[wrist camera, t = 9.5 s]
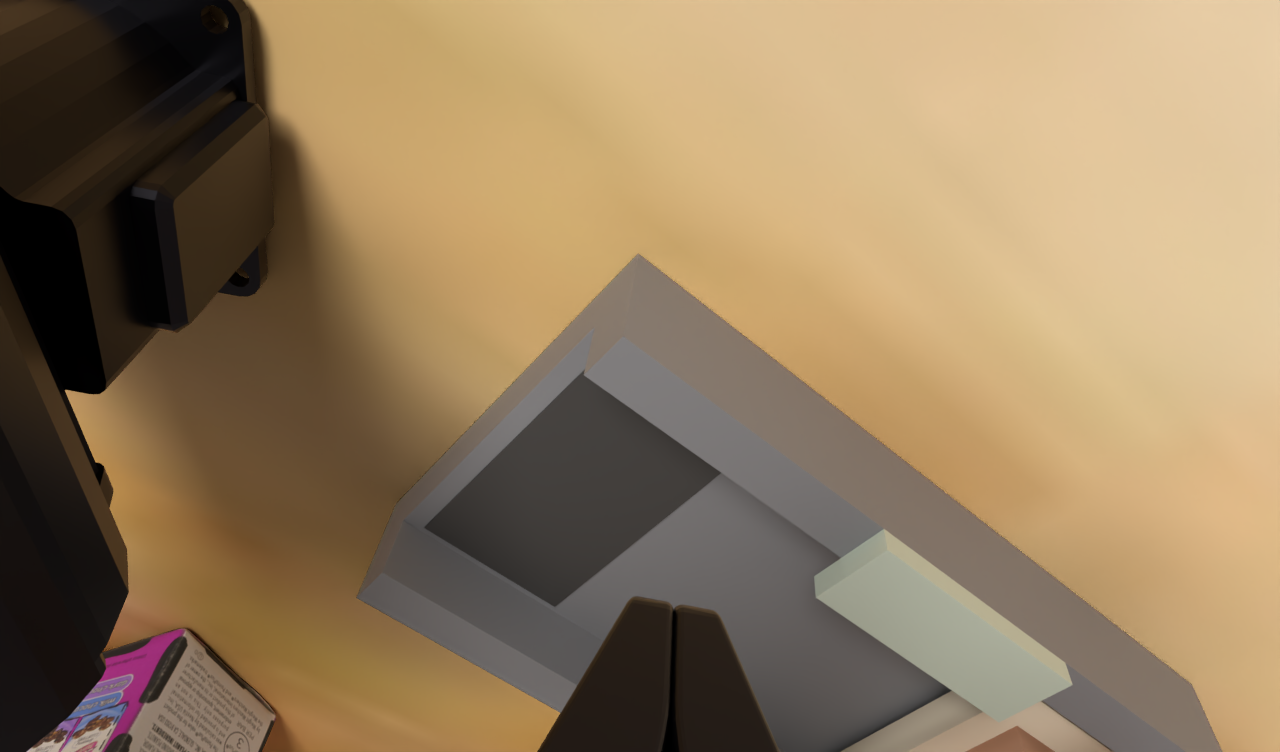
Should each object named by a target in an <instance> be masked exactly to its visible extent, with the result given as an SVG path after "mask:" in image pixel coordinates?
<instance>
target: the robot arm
mask: <svg viewBox="0 0 1280 752" xmlns="http://www.w3.org/2000/svg"><path fill="white" fill-rule="evenodd" d="M211 5H214V6H216V7H218V8H220V9H221V10H222V11H223V12H224V13H225V14H226V16H227V19H228V22H229V24H228V28H225V27H222V26H220V25H218V24H217V23H216V22H215V20H214V19H213V18H212V15H211V12H210V9H211ZM273 227H274V206H273V190H272V173H271V157H270V140H269V124H268V117H267V116H266V114H265V113H264V111H263V110H262V108H261V107H260V106H259V104H257V103H256V89H255V74H254V60H253V45H252V30H251V18H250V14H249V10H248V7H247V6H246V4H245V3H244V1H243V0H0V752H27V751H28V750H29V749H30V748H32V747H33V746H34V745H35V744H36V743H38V742H39V741H40V740H41V739H43V738H44V737H45V736H46V735H47V734H49V733H50V732H51V731H52V730H53V729H55V728H56V727H57V726H58V725H59V724H61V723H62V722H63V721H64V720H65V719H67V718H68V717H69V716H70V715H71V714H72V712H73V711H74V710H75V709H76V708H77V707H78V705H79V704H80V703H81V702H82V701H83V700H84V698H85V697H86V696H87V695H88V694H89V692H90V691H91V690H92V689H93V688H94V687H95V685H96V684H97V683H98V682H99V681H100V680H101V678H102V677H103V675H104V672H105V670H106V661H105V658H104V656H103V654H102V651H103V650H104V648H105V647H106V645H107V643H108V641H109V638H110V636H111V634H112V631H113V629H114V626H115V624H116V622H117V619H118V617H119V614H120V612H121V609H122V607H123V605H124V602H125V600H126V597H127V595H128V592H129V591H128V562H127V548H126V546H125V543H124V541H123V539H122V536H121V534H120V532H119V530H118V527H117V525H116V523H115V520H114V518H113V516H112V513H111V511H110V509H109V508H110V504H111V500H112V496H113V487H112V485H111V482H110V480H109V477H108V475H107V473H106V470H105V468H104V466H103V465H102V464H100V463H96V462H95V461H94V458H93V456H92V453H91V451H90V449H89V446H88V444H87V442H86V439H85V437H84V435H83V432H82V430H81V428H80V425H79V423H78V421H77V418H76V416H75V414H74V411H73V409H72V407H71V404H70V402H69V400H68V397H67V395H66V393H65V390H71V391H77V392H82V393H87V394H100V393H102V392H103V391H104V390H106V389H107V387H108V386H109V385H110V384H111V383H112V382H113V381H114V380H115V379H116V377H117V376H118V375H119V374H120V373H121V372H122V371H123V370H124V369H125V367H126V366H127V365H128V364H129V363H130V362H131V361H132V360H133V359H134V358H135V356H136V355H137V354H138V353H139V352H140V351H141V350H142V349H143V348H144V346H145V345H146V344H147V343H148V342H149V341H150V340H151V339H152V338H153V336H154V335H155V334H156V333H157V332H158V331H159V330H165V331H170V332H175V333H177V332H179V331H180V330H182V329H183V328H185V327H186V326H187V325H189V324H190V323H192V321H193V320H194V319H195V318H196V317H197V316H198V314H199V313H200V312H201V311H202V310H203V309H204V307H205V306H206V305H207V304H208V303H209V302H210V300H211V299H212V298H213V297H214V296H215V295H216V294H217V292H220V293H225V294H230V295H236V296H250V295H252V294H255V293H256V292H257V290H258V289H259V288H260V287H261V285H262V284H263V283H264V282H265V280H266V279H267V274H268V267H267V252H266V238H265V237H266V235H267V234H268V233H269V232H270V231H271V230H272V229H273ZM238 268H242V269H243V270H244V271H245V272H246V273H247V274H248V276H249V278H245V277H243V276H241V275H239V274H238V273H237V272H236V270H237V269H238ZM538 752H780V751H779V749H778V746H777V744H776V742H775V739H774V737H773V735H772V733H771V730H770V728H769V726H768V723H767V721H766V719H765V717H764V714H763V712H762V710H761V707H760V705H759V703H758V701H757V698H756V696H755V694H754V691H753V689H752V687H751V685H750V682H749V680H748V678H747V675H746V673H745V671H744V669H743V666H742V664H741V662H740V659H739V657H738V655H737V653H736V650H735V648H734V646H733V643H732V641H731V639H730V637H729V634H728V632H727V630H726V627H725V625H724V623H723V621H722V619H721V617H720V615H719V614H718V613H717V612H715V611H714V610H711V609H705V608H700V607H694V606H689V605H684V604H682V605H678V606H676V607H675V608H674V610H673V607H672V605H671V604H670V603H669V602H667V601H662V600H656V599H651V598H645V597H640V596H634V597H632V598H631V599H629V601H628V602H627V603H626V605H625V607H624V608H623V610H622V612H621V613H620V615H619V617H618V618H617V620H616V622H615V623H614V625H613V627H612V628H611V630H610V632H609V633H608V635H607V637H606V638H605V640H604V642H603V643H602V645H601V647H600V648H599V650H598V652H597V653H596V655H595V657H594V658H593V660H592V662H591V663H590V665H589V667H588V668H587V670H586V672H585V673H584V675H583V677H582V678H581V680H580V682H579V683H578V685H577V687H576V688H575V690H574V692H573V693H572V695H571V697H570V698H569V700H568V702H567V703H566V705H565V707H564V708H563V710H562V712H561V713H560V715H559V717H558V718H557V720H556V722H555V723H554V725H553V727H552V728H551V730H550V732H549V733H548V735H547V737H546V738H545V740H544V742H543V743H542V745H541V747H540V748H539V750H538Z"/></svg>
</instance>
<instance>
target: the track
mask: <svg viewBox="0 0 1280 752" xmlns="http://www.w3.org/2000/svg"><path fill="white" fill-rule="evenodd" d="M634 596H640V597H645V598H651V599H656V600H662V601H667V602H669V603H670V604H671V605H672V607H673V610H674V608H675V607H676V606H678V605H682V604H684V605H689V606H694V607H700V608H705V609H711V610H714V611H715V612H717V613H718V614H719V615H720V617H721V619H722V621H723V623H724V625H725V627H726V630H727V632H728V634H729V637H730V639H731V641H732V643H733V646H734V648H735V650H736V653H737V655H738V657H739V659H740V662H741V664H742V666H743V669H744V671H745V673H746V675H747V678H748V680H749V682H750V685H751V687H752V689H753V691H754V694H755V696H756V698H757V701H758V703H759V705H760V707H761V710H762V712H763V714H764V717H765V719H766V721H767V723H768V726H769V728H770V730H771V733H772V735H773V737H774V739H775V742H776V744H777V746H778V749H779V751H780V752H841V751H842V750H844V749H846V748H848V747H850V746H852V745H853V744H855V743H857V742H859V741H861V740H862V739H864V738H866V737H868V736H870V735H872V734H873V733H875V732H877V731H879V730H881V729H883V728H884V727H886V726H888V725H890V724H892V723H894V722H895V721H897V720H899V719H901V718H903V717H905V716H906V715H908V714H910V713H912V712H914V711H916V710H917V709H919V708H921V707H923V706H925V705H927V704H928V703H930V702H932V701H934V700H936V699H938V698H939V697H941V696H943V695H945V694H947V693H948V692H950V691H953V692H955V693H956V694H958V695H959V696H961V697H962V698H964V699H965V700H967V701H968V702H970V703H971V704H972V705H974V706H975V707H977V708H978V709H980V710H981V711H983V712H984V713H986V714H987V715H989V716H990V717H991V718H993V719H994V720H996V721H997V722H1001V721H1003V720H1005V719H1007V718H1009V717H1011V716H1013V715H1015V714H1017V713H1019V712H1021V711H1023V710H1024V709H1026V708H1028V707H1030V706H1032V705H1034V704H1036V703H1038V702H1040V701H1043V702H1045V703H1046V704H1048V705H1049V706H1051V707H1052V708H1053V709H1055V710H1056V711H1058V712H1059V713H1060V714H1062V715H1063V716H1065V717H1066V718H1067V719H1069V720H1070V721H1072V722H1073V723H1074V724H1076V725H1077V726H1079V727H1080V728H1082V729H1083V730H1084V731H1086V732H1087V733H1089V734H1090V735H1091V736H1093V737H1094V738H1096V739H1097V740H1098V741H1100V742H1101V743H1103V744H1104V745H1105V746H1107V747H1108V748H1110V749H1111V750H1113V751H1114V752H1222V750H1221V748H1220V746H1219V743H1218V741H1217V739H1216V737H1215V734H1214V732H1213V730H1212V728H1211V726H1210V723H1209V721H1208V719H1207V717H1206V715H1205V712H1204V710H1203V708H1202V706H1201V703H1200V701H1199V699H1198V697H1197V695H1196V692H1195V690H1194V688H1193V686H1192V684H1190V683H1189V682H1188V681H1186V680H1185V679H1184V678H1183V677H1181V676H1180V675H1179V674H1177V673H1176V672H1175V671H1174V670H1172V669H1171V668H1170V667H1168V666H1167V665H1166V664H1165V663H1163V662H1162V661H1161V660H1159V659H1158V658H1157V657H1156V656H1154V655H1153V654H1152V653H1151V652H1149V651H1148V650H1147V649H1145V648H1144V647H1143V646H1142V645H1140V644H1139V643H1138V642H1136V641H1135V640H1134V639H1133V638H1131V637H1130V636H1129V635H1127V634H1126V633H1125V632H1124V631H1122V630H1121V629H1120V628H1118V627H1117V626H1116V625H1115V624H1113V623H1112V622H1111V621H1109V620H1108V619H1107V618H1106V617H1104V616H1103V615H1102V614H1100V613H1099V612H1098V611H1097V610H1095V609H1094V608H1093V607H1091V606H1090V605H1089V604H1088V603H1086V602H1085V601H1084V600H1082V599H1081V598H1080V597H1079V596H1077V595H1076V594H1075V593H1073V592H1072V591H1071V590H1070V589H1068V588H1067V587H1066V586H1064V585H1063V584H1062V583H1061V582H1059V581H1058V580H1057V579H1055V578H1054V577H1053V576H1052V575H1050V574H1049V573H1048V572H1047V571H1045V570H1044V569H1043V568H1041V567H1040V566H1039V565H1038V564H1036V563H1035V562H1034V561H1032V560H1031V559H1030V558H1029V557H1027V556H1026V555H1025V554H1023V553H1022V552H1021V551H1020V550H1018V549H1017V548H1016V547H1014V546H1013V545H1012V544H1011V543H1009V542H1008V541H1007V540H1005V539H1004V538H1003V537H1002V536H1000V535H999V534H998V533H996V532H995V531H994V530H993V529H991V528H990V527H989V526H987V525H986V524H985V523H984V522H982V521H981V520H980V519H978V518H977V517H976V516H975V515H973V514H972V513H971V512H969V511H968V510H967V509H966V508H964V507H963V506H962V505H960V504H959V503H958V502H957V501H955V500H954V499H953V498H951V497H950V496H949V495H948V494H946V493H945V492H944V491H942V490H941V489H940V488H939V487H937V486H936V485H935V484H934V483H932V482H931V481H930V480H928V479H927V478H926V477H925V476H923V475H922V474H921V473H919V472H918V471H917V470H916V469H914V468H913V467H912V466H910V465H909V464H908V463H907V462H905V461H904V460H903V459H901V458H900V457H899V456H898V455H896V454H895V453H894V452H892V451H891V450H890V449H889V448H887V447H886V446H885V445H883V444H882V443H881V442H880V441H878V440H877V439H876V438H874V437H873V436H872V435H871V434H869V433H868V432H867V431H865V430H864V429H863V428H862V427H860V426H859V425H858V424H856V423H855V422H854V421H853V420H851V419H850V418H849V417H847V416H846V415H845V414H844V413H842V412H841V411H840V410H838V409H837V408H836V407H835V406H833V405H832V404H831V403H830V402H828V401H827V400H826V399H824V398H823V397H822V396H821V395H819V394H818V393H817V392H815V391H814V390H813V389H812V388H810V387H809V386H808V385H806V384H805V383H804V382H803V381H801V380H800V379H799V378H797V377H796V376H795V375H794V374H792V373H791V372H790V371H788V370H787V369H786V368H785V367H783V366H782V365H781V364H779V363H778V362H777V361H776V360H774V359H773V358H772V357H770V356H769V355H768V354H767V353H765V352H764V351H763V350H761V349H760V348H759V347H758V346H756V345H755V344H754V343H752V342H751V341H750V340H749V339H747V338H746V337H745V336H743V335H742V334H741V333H740V332H738V331H737V330H736V329H734V328H733V327H732V326H731V325H729V324H728V323H727V322H726V321H724V320H723V319H722V318H720V317H719V316H718V315H717V314H715V313H714V312H713V311H711V310H710V309H709V308H708V307H706V306H705V305H704V304H702V303H701V302H700V301H699V300H697V299H696V298H695V297H693V296H692V295H691V294H690V293H688V292H687V291H686V290H684V289H683V288H682V287H681V286H679V285H678V284H677V283H675V282H674V281H673V280H672V279H670V278H669V277H668V276H666V275H665V274H664V273H663V272H661V271H660V270H659V269H657V268H656V267H655V266H654V265H652V264H651V263H650V262H648V261H647V260H646V259H645V258H643V257H642V256H641V255H639V254H637V255H636V256H635V257H634V258H633V259H632V260H631V261H630V263H629V264H628V265H627V266H626V267H625V268H624V269H623V270H622V271H621V272H620V273H619V274H618V275H617V276H616V277H615V278H614V279H613V280H612V281H611V282H610V283H609V284H608V285H607V286H606V287H605V288H604V289H603V290H602V291H601V293H600V294H599V295H598V296H597V297H596V298H595V299H594V300H593V301H592V302H591V303H590V304H589V305H588V306H587V307H586V308H585V309H584V310H583V311H582V312H581V313H580V314H579V315H578V316H577V317H576V318H575V319H574V320H573V321H572V322H571V324H570V325H569V326H568V327H567V328H566V329H565V330H564V331H563V332H562V333H561V334H560V335H559V336H558V337H557V338H556V339H555V340H554V341H553V342H552V343H551V344H550V345H549V346H548V347H547V348H546V349H545V350H544V351H543V352H542V354H541V355H540V356H539V357H538V358H537V359H536V360H535V361H534V362H533V363H532V364H531V365H530V366H529V367H528V368H527V369H526V370H525V371H524V372H523V373H522V374H521V375H520V376H519V377H518V378H517V379H516V380H515V381H514V382H513V383H512V385H511V386H510V387H509V388H508V389H507V390H506V391H505V392H504V393H503V394H502V395H501V396H500V397H499V398H498V399H497V400H496V401H495V402H494V403H493V404H492V405H491V406H490V407H489V408H488V409H487V410H486V411H485V412H484V413H483V414H482V416H481V417H480V418H479V419H478V420H477V421H476V422H475V423H474V424H473V425H472V426H471V427H470V428H469V429H468V430H467V431H466V432H465V433H464V434H463V435H462V436H461V437H460V438H459V439H458V440H457V441H456V442H455V443H454V444H453V446H452V447H451V448H450V449H449V450H448V451H447V452H446V453H445V454H444V455H443V456H442V457H441V458H440V459H439V460H438V461H437V462H436V463H435V464H434V465H433V466H432V467H431V468H430V469H429V470H428V471H427V472H426V473H425V474H424V475H423V477H422V478H421V479H420V480H419V481H418V482H417V483H416V484H415V485H414V486H413V487H412V488H411V489H410V490H409V491H408V492H407V493H406V494H405V495H404V496H403V497H402V498H401V499H400V500H399V501H398V502H397V503H396V505H395V507H394V509H393V512H392V514H391V517H390V519H389V521H388V524H387V526H386V528H385V531H384V533H383V536H382V538H381V540H380V543H379V545H378V547H377V550H376V552H375V555H374V557H373V559H372V562H371V564H370V566H369V569H368V571H367V574H366V576H365V578H364V581H363V583H362V585H361V588H360V590H359V593H358V595H357V597H356V598H358V599H359V600H361V601H363V602H365V603H367V604H368V605H370V606H372V607H374V608H375V609H377V610H379V611H381V612H383V613H384V614H386V615H388V616H390V617H391V618H393V619H395V620H397V621H399V622H400V623H402V624H404V625H406V626H407V627H409V628H411V629H413V630H415V631H416V632H418V633H420V634H422V635H423V636H425V637H427V638H429V639H431V640H432V641H434V642H436V643H438V644H439V645H441V646H443V647H445V648H447V649H448V650H450V651H452V652H454V653H455V654H457V655H459V656H461V657H463V658H464V659H466V660H468V661H470V662H471V663H473V664H475V665H477V666H479V667H480V668H482V669H484V670H486V671H487V672H489V673H491V674H493V675H495V676H496V677H498V678H500V679H502V680H503V681H505V682H507V683H509V684H511V685H512V686H514V687H516V688H518V689H519V690H521V691H523V692H525V693H527V694H528V695H530V696H532V697H534V698H535V699H537V700H539V701H541V702H542V703H544V704H546V705H548V706H550V707H551V708H553V709H555V710H557V711H558V712H560V713H561V712H562V710H563V708H564V707H565V705H566V703H567V702H568V700H569V698H570V697H571V695H572V693H573V692H574V690H575V688H576V687H577V685H578V683H579V682H580V680H581V678H582V677H583V675H584V673H585V672H586V670H587V668H588V667H589V665H590V663H591V662H592V660H593V658H594V657H595V655H596V653H597V652H598V650H599V648H600V647H601V645H602V643H603V642H604V640H605V638H606V637H607V635H608V633H609V632H610V630H611V628H612V627H613V625H614V623H615V622H616V620H617V618H618V617H619V615H620V613H621V612H622V610H623V608H624V607H625V605H626V603H627V602H628V601H629V599H631V598H632V597H634Z"/></svg>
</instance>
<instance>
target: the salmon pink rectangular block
mask: <svg viewBox="0 0 1280 752" xmlns="http://www.w3.org/2000/svg"><path fill="white" fill-rule="evenodd" d="M841 752H1114V751H1113V750H1111V749H1110V748H1108V747H1107V746H1105V745H1104V744H1103V743H1101V742H1100V741H1098V740H1097V739H1096V738H1094V737H1093V736H1091V735H1090V734H1089V733H1087V732H1086V731H1084V730H1083V729H1082V728H1080V727H1079V726H1077V725H1076V724H1074V723H1073V722H1072V721H1070V720H1069V719H1067V718H1066V717H1065V716H1063V715H1062V714H1060V713H1059V712H1058V711H1056V710H1055V709H1053V708H1052V707H1051V706H1049V705H1048V704H1046V703H1045V702H1043V701H1040V702H1038V703H1036V704H1034V705H1032V706H1030V707H1028V708H1026V709H1024V710H1023V711H1021V712H1019V713H1017V714H1015V715H1013V716H1011V717H1009V718H1007V719H1005V720H1003V721H1001V722H997V721H996V720H994V719H993V718H991V717H990V716H989V715H987V714H986V713H984V712H983V711H981V710H980V709H978V708H977V707H975V706H974V705H972V704H971V703H970V702H968V701H967V700H965V699H964V698H962V697H961V696H959V695H958V694H956V693H955V692H953V691H950V692H948V693H947V694H945V695H943V696H941V697H939V698H938V699H936V700H934V701H932V702H930V703H928V704H927V705H925V706H923V707H921V708H919V709H917V710H916V711H914V712H912V713H910V714H908V715H906V716H905V717H903V718H901V719H899V720H897V721H895V722H894V723H892V724H890V725H888V726H886V727H884V728H883V729H881V730H879V731H877V732H875V733H873V734H872V735H870V736H868V737H866V738H864V739H862V740H861V741H859V742H857V743H855V744H853V745H852V746H850V747H848V748H846V749H844V750H842V751H841Z"/></svg>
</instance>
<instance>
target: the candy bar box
mask: <svg viewBox="0 0 1280 752" xmlns="http://www.w3.org/2000/svg"><path fill="white" fill-rule="evenodd" d="M102 654H103V656H104V658H105V661H106V670H105V672H104V675H103V677H102V678H101V680H100V681H99V682H98V683H97V684H96V685H95V687H94V688H93V689H92V690H91V691H90V692H89V694H88V695H87V696H86V697H85V698H84V700H83V701H82V702H81V703H80V704H79V705H78V707H77V708H76V709H75V710H74V711H73V712H72V714H71V715H70V716H69V717H68V718H67V719H65V720H64V721H63V722H62V723H61V724H59V725H58V726H57V727H56V728H55V729H53V730H52V731H51V732H50V733H49V734H47V735H46V736H45V737H44V738H43V739H41V740H40V741H39V742H38V743H36V744H35V745H34V746H33V747H32V748H30V749H29V750H28V751H27V752H262V750H263V748H264V745H265V743H266V741H267V739H268V736H269V734H270V731H271V729H272V727H273V725H274V722H275V720H276V713H275V712H274V711H273V710H272V708H271V707H270V706H269V705H268V704H267V702H266V701H265V700H264V699H263V698H262V697H261V696H260V695H259V694H258V693H257V692H256V691H255V690H254V689H253V688H252V687H250V686H249V685H248V684H247V683H245V682H244V681H243V680H242V679H241V678H240V677H238V676H237V675H236V674H235V673H234V672H233V671H232V670H231V669H230V668H228V667H227V666H226V665H225V664H224V663H223V662H222V661H221V660H220V659H219V658H218V657H217V656H216V655H215V654H214V653H213V652H212V651H211V650H210V649H209V648H208V647H207V646H206V645H204V644H203V643H202V642H201V641H200V640H199V639H198V638H196V637H195V636H194V635H193V634H192V633H191V632H190V631H189V630H187V629H186V628H185V629H176V630H173V631H170V632H166V633H163V634H160V635H157V636H153V637H150V638H147V639H143V640H140V641H137V642H134V643H131V644H128V645H124V646H121V647H118V648H115V649H112V650H109V651H106V652H103V653H102Z"/></svg>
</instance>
